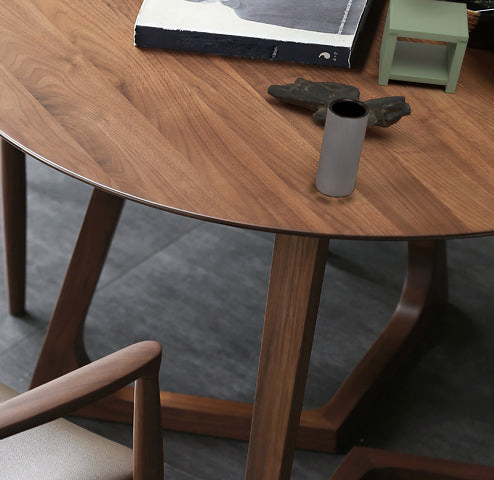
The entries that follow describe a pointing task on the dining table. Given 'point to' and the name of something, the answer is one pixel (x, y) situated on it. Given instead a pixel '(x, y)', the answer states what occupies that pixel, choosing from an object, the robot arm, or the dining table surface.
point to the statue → (324, 93)
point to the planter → (341, 146)
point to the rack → (419, 54)
